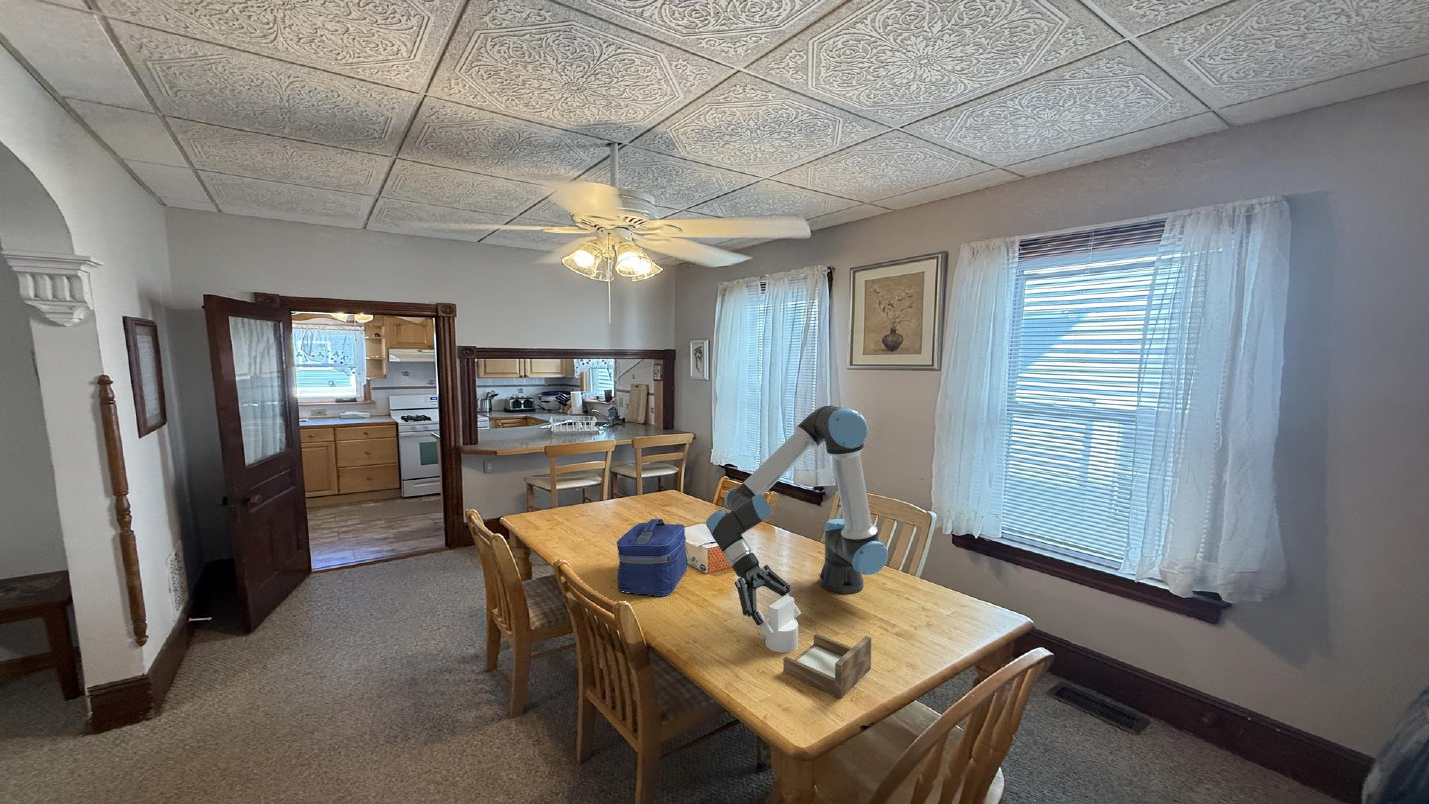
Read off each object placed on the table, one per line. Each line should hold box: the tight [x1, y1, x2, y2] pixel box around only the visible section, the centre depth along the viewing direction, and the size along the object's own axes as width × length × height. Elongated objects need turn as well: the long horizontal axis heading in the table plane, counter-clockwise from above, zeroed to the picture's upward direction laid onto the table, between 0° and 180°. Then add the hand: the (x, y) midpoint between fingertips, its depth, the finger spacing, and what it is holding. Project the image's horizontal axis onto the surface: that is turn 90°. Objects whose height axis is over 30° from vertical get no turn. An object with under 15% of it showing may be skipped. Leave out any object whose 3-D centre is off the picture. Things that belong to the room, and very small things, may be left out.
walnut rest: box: [782, 633, 872, 700], centre depth 133 cm, size 16×16×8 cm
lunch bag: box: [616, 518, 688, 597], centre depth 190 cm, size 31×21×20 cm
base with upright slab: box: [765, 595, 799, 654], centre depth 145 cm, size 9×9×12 cm
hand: (784, 625), depth 144 cm, fingers open, 13 cm apart
